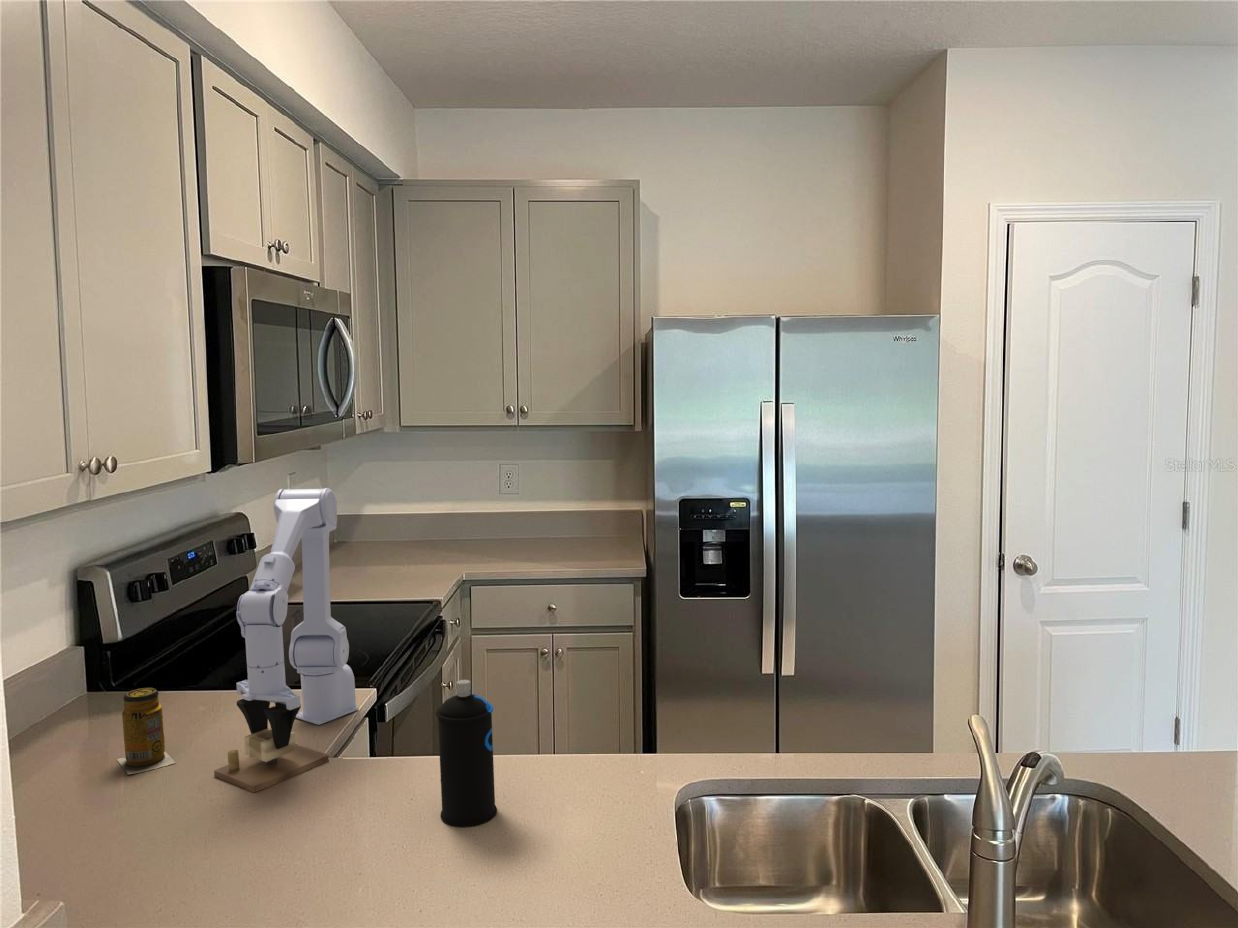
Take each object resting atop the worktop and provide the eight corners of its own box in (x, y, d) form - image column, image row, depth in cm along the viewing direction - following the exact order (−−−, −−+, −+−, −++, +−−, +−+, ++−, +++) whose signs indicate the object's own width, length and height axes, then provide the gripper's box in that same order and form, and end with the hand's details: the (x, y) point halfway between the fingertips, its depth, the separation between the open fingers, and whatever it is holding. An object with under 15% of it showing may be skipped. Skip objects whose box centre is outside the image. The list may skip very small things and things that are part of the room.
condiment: (162, 748, 165) (157, 682, 163) (175, 763, 158) (170, 694, 157) (116, 760, 160) (111, 692, 159) (128, 776, 153) (122, 705, 152)
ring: (275, 742, 159) (274, 725, 158) (295, 750, 155) (294, 732, 155) (245, 754, 154) (244, 736, 154) (266, 761, 151) (265, 743, 151)
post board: (288, 746, 164) (286, 719, 163) (328, 760, 158) (327, 732, 157) (214, 776, 153) (212, 746, 152) (254, 792, 146) (252, 761, 146)
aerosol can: (450, 832, 132) (444, 695, 130) (433, 808, 139) (427, 678, 137) (505, 818, 136) (500, 684, 134) (486, 796, 143) (481, 669, 141)
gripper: (217, 662, 154) (223, 741, 156) (271, 677, 146) (276, 760, 147) (255, 650, 160) (261, 727, 161) (309, 664, 152) (314, 745, 153)
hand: (270, 742), depth 155 cm, fingers closed on ring, 5 cm apart
